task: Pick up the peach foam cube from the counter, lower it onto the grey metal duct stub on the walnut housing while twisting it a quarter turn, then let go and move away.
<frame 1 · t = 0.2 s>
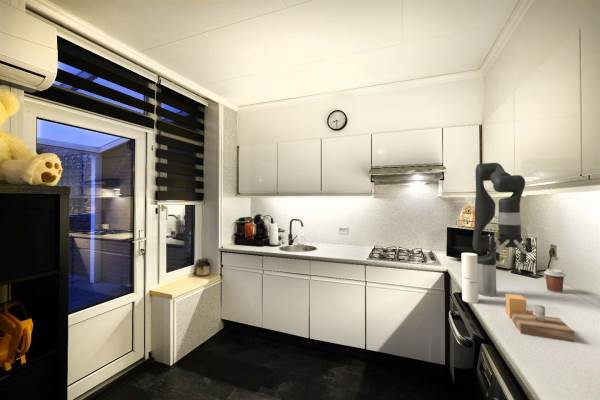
hand: (509, 261, 111), 28 cm above the worktop, tool pointing down, fingers open, 8 cm apart
coffee cup: (554, 291, 152), on the worktop
duct housing: (540, 330, 109), on the worktop
cylindrical container: (470, 300, 141), on the worktop
peach foam cube: (515, 316, 122), on the worktop
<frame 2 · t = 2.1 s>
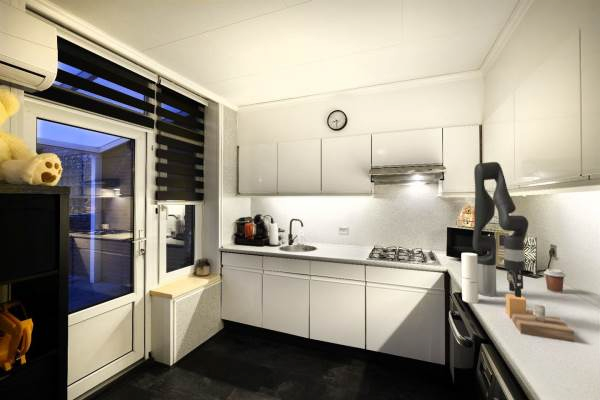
hand: (515, 293, 122), 11 cm above the worktop, tool pointing down, fingers open, 8 cm apart
nothing on the worktop moved.
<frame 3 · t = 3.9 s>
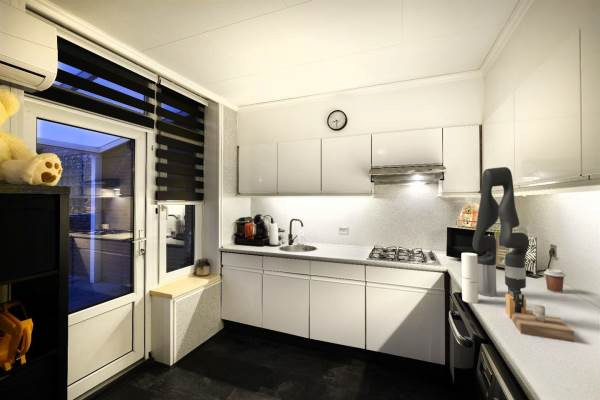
hand: (515, 311, 122), 2 cm above the worktop, tool pointing down, fingers closed on peach foam cube, 6 cm apart
peach foam cube: (515, 316, 122), on the worktop, touching gripper
everything else where it was.
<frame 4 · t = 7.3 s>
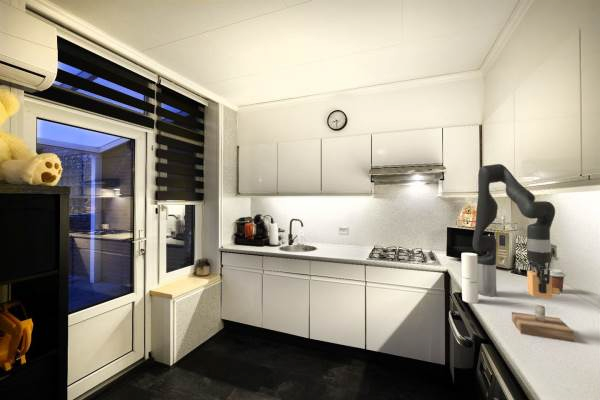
hand: (539, 290, 109), 17 cm above the worktop, tool pointing down, fingers closed on peach foam cube, 6 cm apart
peach foam cube: (539, 295, 109), point 15 cm above the worktop, touching gripper
everything else where it was.
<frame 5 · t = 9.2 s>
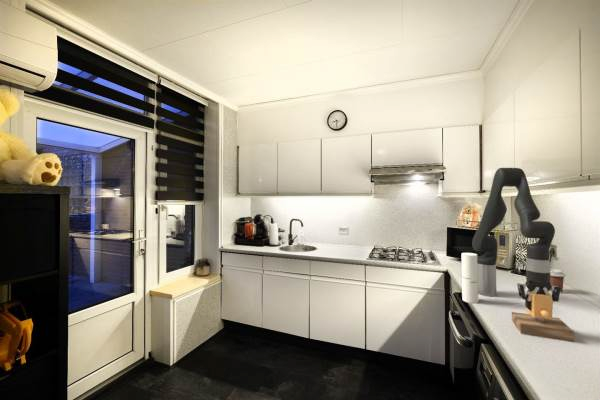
hand: (538, 309, 109), 9 cm above the worktop, tool pointing down, fingers closed on peach foam cube, 6 cm apart
peach foam cube: (538, 314, 109), point 6 cm above the worktop, touching gripper
everything else where it was.
when the fingers open (8 cm above the worktop, at t = 10.8 s): peach foam cube drops 1 cm, resting on duct housing.
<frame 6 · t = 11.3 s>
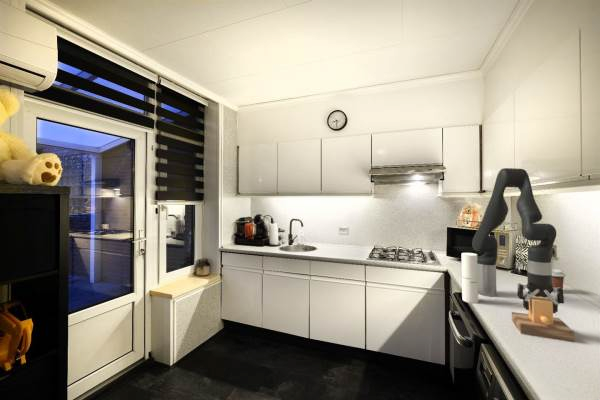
hand: (540, 311, 109), 8 cm above the worktop, tool pointing down, fingers open, 8 cm apart
peach foam cube: (540, 320, 109), point 4 cm above the worktop, touching duct housing
everything else where it was.
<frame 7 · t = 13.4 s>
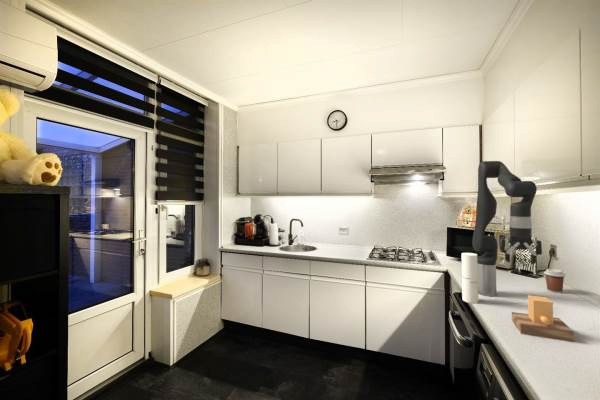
hand: (520, 262, 117), 26 cm above the worktop, tool pointing down, fingers open, 8 cm apart
nothing on the worktop moved.
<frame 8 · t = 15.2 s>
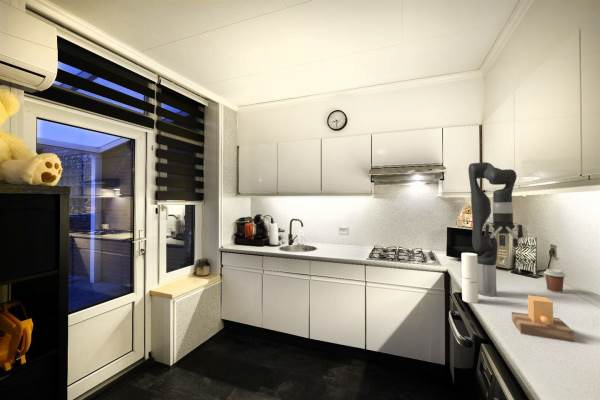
hand: (503, 246, 124), 32 cm above the worktop, tool pointing down, fingers open, 8 cm apart
nothing on the worktop moved.
at the end: peach foam cube 0.1 cm off-centre on the duct housing, point 4.0 cm above the duct housing's base; peach foam cube tilted 0°; the gripper is holding nothing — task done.
